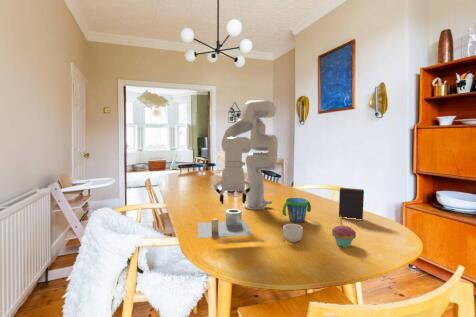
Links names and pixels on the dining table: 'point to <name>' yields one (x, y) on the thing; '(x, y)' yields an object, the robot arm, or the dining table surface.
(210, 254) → the dining table surface
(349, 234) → the cupcake
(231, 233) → the stand
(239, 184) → the robot arm
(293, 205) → the snack cup
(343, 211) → the black upright rectangular panel
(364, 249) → the dining table surface
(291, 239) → the teacup
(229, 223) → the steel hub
